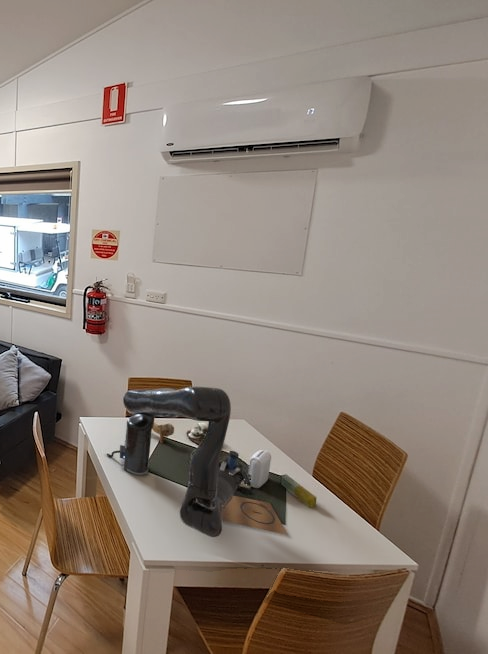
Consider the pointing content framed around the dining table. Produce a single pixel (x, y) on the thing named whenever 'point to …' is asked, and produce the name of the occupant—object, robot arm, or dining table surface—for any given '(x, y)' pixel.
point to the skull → (198, 432)
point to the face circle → (253, 519)
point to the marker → (232, 460)
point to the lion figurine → (163, 430)
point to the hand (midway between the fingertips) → (234, 463)
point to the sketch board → (252, 514)
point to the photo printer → (259, 468)
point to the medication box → (298, 491)
